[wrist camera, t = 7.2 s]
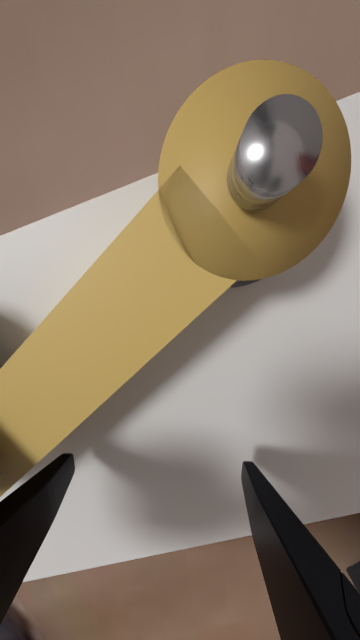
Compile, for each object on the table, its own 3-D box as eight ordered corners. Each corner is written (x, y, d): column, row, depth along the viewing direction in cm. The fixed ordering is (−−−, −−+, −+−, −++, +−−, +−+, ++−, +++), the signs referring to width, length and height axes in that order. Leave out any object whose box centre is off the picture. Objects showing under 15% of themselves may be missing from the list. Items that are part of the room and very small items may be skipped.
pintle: (135, 159, 6) (79, 20, 3) (290, 96, 6) (441, -159, 2) (183, 305, 7) (184, 328, 4) (316, 261, 7) (444, 246, 3)
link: (242, 88, 5) (270, -2, 4) (329, 211, 6) (389, 185, 4) (-41, 410, 8) (-102, 447, 6) (42, 469, 9) (7, 517, 7)
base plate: (-158, 312, 9) (-201, 316, 8) (417, 86, 6) (460, 51, 5) (30, 559, 12) (17, 583, 11) (430, 472, 10) (457, 492, 9)
